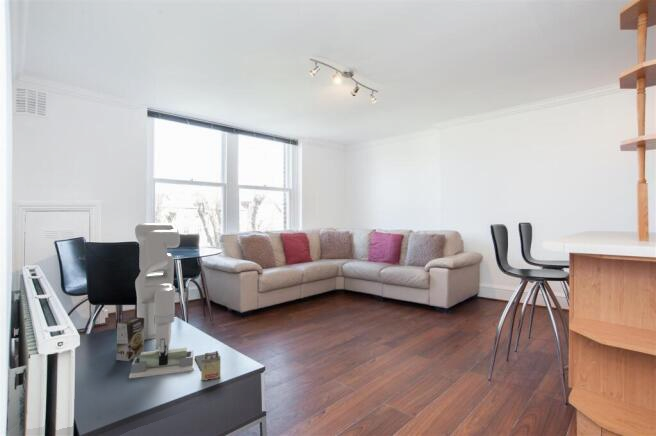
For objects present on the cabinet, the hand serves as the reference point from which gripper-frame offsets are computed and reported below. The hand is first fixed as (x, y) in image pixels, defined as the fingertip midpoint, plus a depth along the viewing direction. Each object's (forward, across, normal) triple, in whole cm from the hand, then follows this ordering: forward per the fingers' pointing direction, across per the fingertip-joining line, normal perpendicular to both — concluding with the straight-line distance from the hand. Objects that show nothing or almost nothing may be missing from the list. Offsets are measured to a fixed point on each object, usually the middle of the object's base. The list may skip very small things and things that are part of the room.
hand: (163, 362), depth 139 cm
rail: (+1, 0, 0) cm, 1 cm away
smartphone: (+3, 0, +16) cm, 16 cm away
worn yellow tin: (+3, +15, +18) cm, 23 cm away
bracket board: (+2, 0, 0) cm, 2 cm away
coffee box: (+3, -16, -15) cm, 22 cm away
